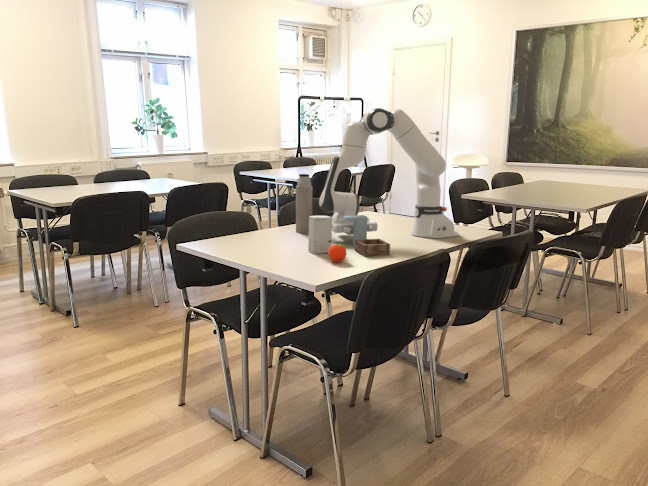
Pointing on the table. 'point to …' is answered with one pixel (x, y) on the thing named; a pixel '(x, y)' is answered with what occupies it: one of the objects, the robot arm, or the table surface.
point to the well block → (372, 247)
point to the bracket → (358, 226)
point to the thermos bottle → (303, 203)
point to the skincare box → (320, 234)
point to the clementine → (337, 252)
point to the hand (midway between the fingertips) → (360, 230)
